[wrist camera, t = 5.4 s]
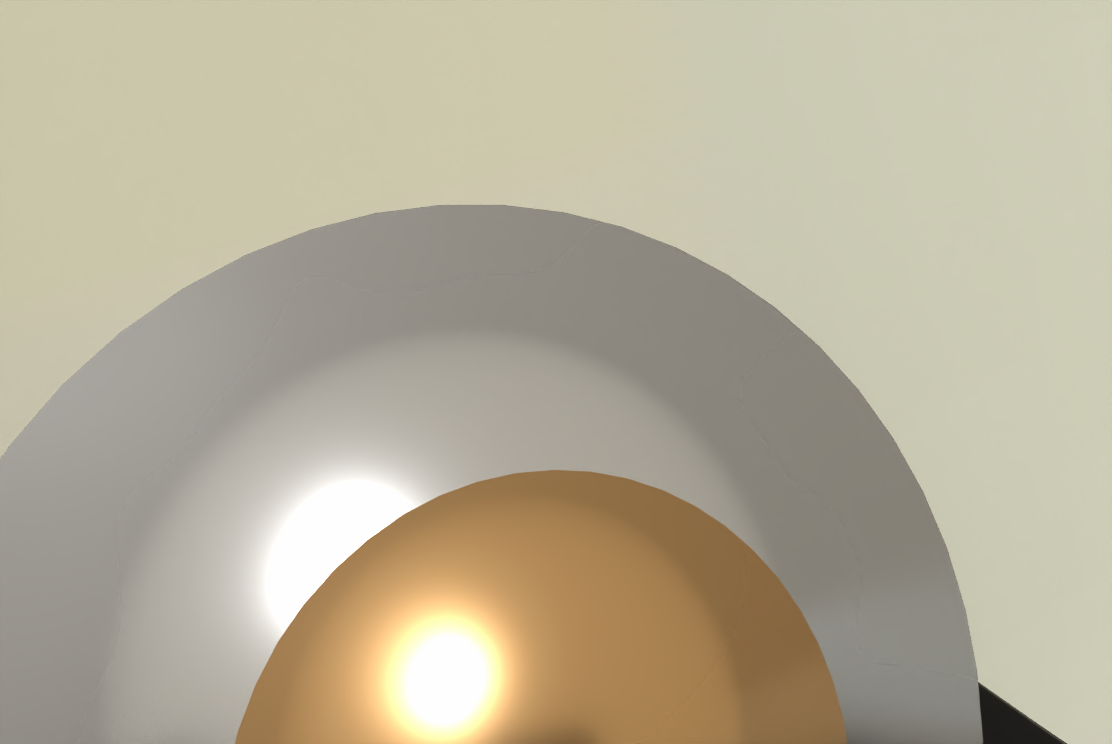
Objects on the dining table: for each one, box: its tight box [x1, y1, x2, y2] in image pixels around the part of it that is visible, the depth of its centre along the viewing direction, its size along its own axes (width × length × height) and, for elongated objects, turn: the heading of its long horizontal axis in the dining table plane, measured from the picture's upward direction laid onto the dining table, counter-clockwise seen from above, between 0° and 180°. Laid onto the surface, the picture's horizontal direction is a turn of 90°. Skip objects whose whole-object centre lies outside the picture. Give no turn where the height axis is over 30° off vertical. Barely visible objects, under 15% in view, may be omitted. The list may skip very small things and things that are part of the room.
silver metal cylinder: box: [0, 205, 983, 744], centre depth 9 cm, size 5×5×13 cm
